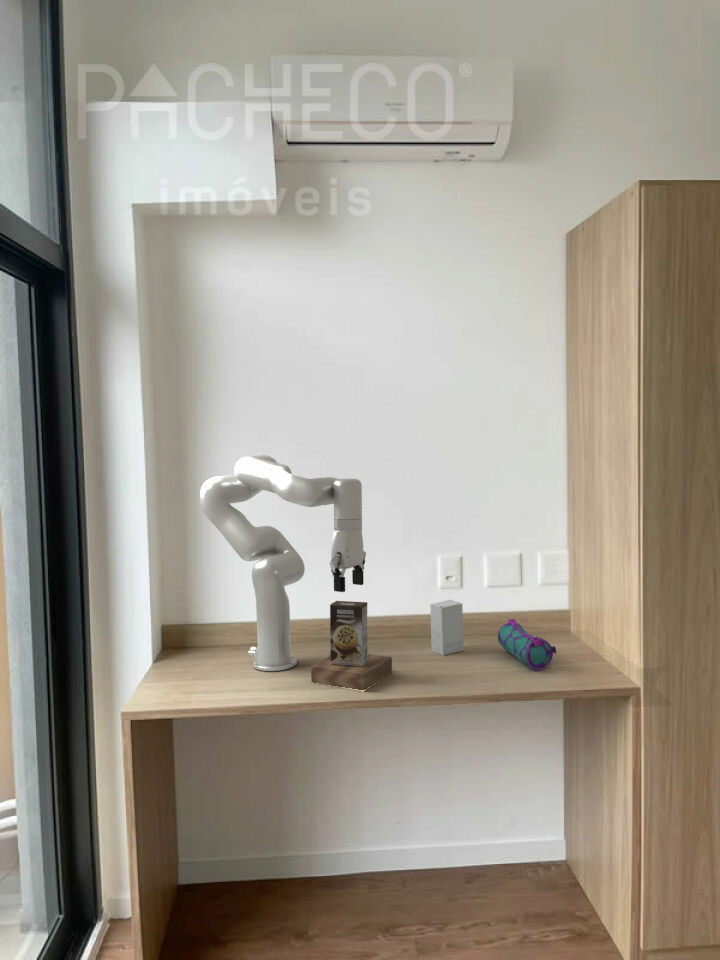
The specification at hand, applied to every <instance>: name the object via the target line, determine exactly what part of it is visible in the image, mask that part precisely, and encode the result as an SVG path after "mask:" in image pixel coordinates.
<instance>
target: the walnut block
mask: <svg viewBox="0 0 720 960" xmlns="http://www.w3.org/2000/svg"><path fill="white" fill-rule="evenodd" d="M367 656H368V660H367V661H366V663H365V664H364V665H363V666H350V665H336V664H330V662H331V655H330V656H328V657H326V658H324V659H322V660H320V661H319V662H317V663H314V664H313V665H311V666H310V674H311V675H310V676H311V678H310V679H311V683H312V682H313V683H312V684H316V683H319V684H318V685H321V684H325V685H324V686H327V685H331V686H330V687H333V686H338V687H345V688H352V689H358V690H365V689H367V688H368V687H370V686H372V685H373V684H375V683H377V682H378V681H380V680H381V681H383V680H384V679H386V678H388V677H389V676H390V675H392V674H393V657H392V656H386V655H378V654H370V653H367ZM391 673H392V674H391ZM388 675H389V676H388ZM385 677H386V678H385ZM383 678H384V679H383ZM382 679H383V680H382ZM381 681H380V682H381ZM378 683H379V682H378ZM378 683H377V684H378ZM375 685H376V684H375ZM338 687H337V688H338ZM372 687H373V686H372Z"/></svg>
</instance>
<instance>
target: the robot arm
mask: <svg viewBox="0 0 720 960" xmlns="http://www.w3.org/2000/svg"><path fill="white" fill-rule="evenodd" d="M233 471H234V472H233V473H234V474H230V475H219V476H214V477H211V478H209V479H207V480H206V481H204V483H202V486H201V488H200V492H199V502H200V506H201V510H202V511H203V513H204V515H205V516H206V517H207V519H208V520H209V521H210V522H211V524H213V526H214V527H215V528H216V529H217V530H218V531H219V532H220V534H221V535H222V536H223V537H224V539H225V540H226V542H227V543H228V544H229V545H230V546H231V548H232V549H233V550H234V552H236V554H237V555H238V556H239V558H240V559H242V560H243V561H246V562H254V561H257V562H256V563H255V564H254V566H253V567H252V571H251V579H252V585H253V589H254V595H255V607H256V611H255V612H256V631H257V634H256V635H257V637H256V638H257V646H251V647H250V649H249V650H248V656H254V658H255V659H254V660H253V661H252V667H253V668H254V669H256V670H259V671H263V672H277V671H285V670H288V669H291V668H294V667H295V666H296V665H297V663H298V660H297V658H296V657H295V656H293V655H292V645H291V644H292V643H291V642H292V640H291V613H290V600H289V596H288V594H287V591H286V589H285V587H286V586H289V585H292V584H295V583H297V582H299V581H300V580H301V579H302V578H303V576H304V574H305V571H306V570H305V568H306V567H305V562H304V560H303V559H302V557H301V555H300V554H299V552H297V550H296V548H294V546H293V545H292V544H291V542H289V541H288V539H287V538H286V537H285V536H284V534H283V533H282V532H281V531H279V530H278V529H277V528H276V527H273V526H271V525H270V526H269V525H262V526H254V525H253V524H252V523H251V522H250V521H249V520H248V519H247V516H246V515H245V514H244V513H243V512H241V511H240V510H238V509H237V508H235V507H234V506H233V505H231V504H236V503H243V502H246V501H248V500H250V499H252V498H253V497H255V496H256V495H258V494H259V493H260V492H262V491H265V492H270V493H272V494H276V496H278V497H279V498H280V499H282V500H284V501H286V502H289V503H293V504H296V505H298V506H302V507H307V508H314V507H320V506H328V505H333V528H334V529H333V530H334V531H333V533H332V538H331V539H332V541H331V551H330V552H331V555H330V556H331V559H330V561H329V566H330V570H331V573H332V577H333V591H334V592H338V593H339V592H340V593H345V592H346V577H345V576H344V575H345V573H346V570H348V569H351V568H353V569H352V574H351V575H352V580H351V581H352V584H353V585H356V586H357V585H358V586H363V585H364V570H365V563H366V556H367V552H366V551H365V550H364V540H363V537H364V536H363V495H362V494H363V493H362V490H363V489H362V488H363V486H362V485H363V484H362V482H361V480H360V479H358V478H338V477H337V478H336V477H332V476H326V477H316V478H306V477H304V476H298V475H294V474H293V473H292V470H291V468H290V467H289V466H288V465H286V464H284V463H279V462H277V460H276V459H275V458H274V457H272V456H270V455H264V454H263V455H262V454H261V455H248V456H247V455H246V456H244V457H242V458H240V459H238V461H236V463H235V465H234V469H233Z"/></svg>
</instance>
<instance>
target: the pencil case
mask: <svg viewBox="0 0 720 960" xmlns="http://www.w3.org/2000/svg"><path fill="white" fill-rule="evenodd" d="M507 621H508V622H507V623H505V624H503V625H502V626H501V627H500V628H499V630H498V633H497V639H498V642H499V645H501V647H502V648H503V649H504V650H505V651H507V652H508V653H509V654H511V655H512V656H513V657H515V659H517V660H519V662H521V663H522V664H524V665H525V666H526V667H528V668H529V669H531V670H532V671H535V672H539V670H540V671H542V670H544V669H545V668H547V667H548V666H549V665H550V664H551V662H552V661H553V657H554V654H557V649H556V646H553V645H552V644H550V642H549V641H547V640H546V639H544V638H542V637H538V636H537V635H536V634H535V635H534V634H531V633H528V632H527V631H526V630H524V628H523V627H522V625H520V624H519V623H518V622H516V618H510V619H507Z"/></svg>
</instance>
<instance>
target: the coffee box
mask: <svg viewBox="0 0 720 960" xmlns="http://www.w3.org/2000/svg"><path fill="white" fill-rule="evenodd" d="M329 624H330V625H329V627H330V628H329V631H330V632H329V635H330V639H329V640H330V645H329V646H330V653H329V654H330V656H331V662H330V664H336V665H350V666H363V665H364V664H365V663H366V661H367V660H368V656H367V654H368V602H367V601H346V600H345V601H344V600H335V601H334V602H332V603H331V604H330V605H329Z"/></svg>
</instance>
